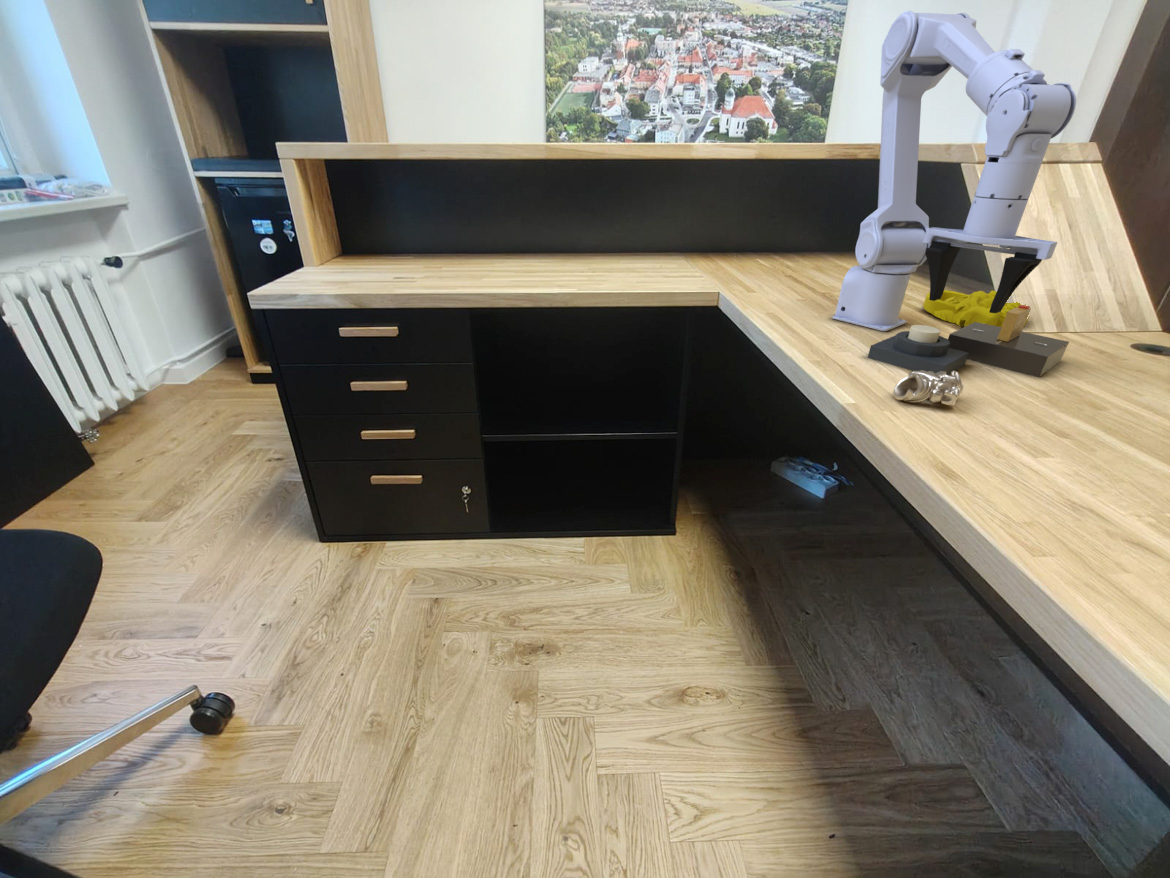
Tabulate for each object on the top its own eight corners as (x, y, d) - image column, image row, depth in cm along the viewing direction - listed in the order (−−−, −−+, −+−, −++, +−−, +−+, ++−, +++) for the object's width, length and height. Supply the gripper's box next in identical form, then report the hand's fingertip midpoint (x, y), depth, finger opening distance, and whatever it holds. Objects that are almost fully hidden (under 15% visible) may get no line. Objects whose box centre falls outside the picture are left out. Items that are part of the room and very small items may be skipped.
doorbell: (867, 358, 80) (873, 334, 78) (892, 346, 85) (899, 324, 83) (941, 379, 73) (949, 353, 72) (964, 365, 78) (973, 341, 76)
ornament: (921, 417, 63) (931, 387, 61) (880, 392, 69) (888, 365, 67) (979, 410, 65) (990, 381, 63) (934, 387, 71) (943, 360, 69)
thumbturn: (1007, 341, 78) (1019, 312, 76) (996, 339, 79) (1008, 309, 77) (1020, 335, 80) (1032, 306, 78) (1009, 332, 81) (1020, 304, 79)
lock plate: (942, 353, 82) (949, 332, 81) (968, 340, 88) (975, 320, 86) (1038, 377, 74) (1048, 355, 73) (1060, 361, 80) (1069, 340, 78)
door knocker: (908, 304, 107) (914, 282, 105) (991, 304, 107) (999, 282, 105) (957, 330, 93) (965, 305, 91) (1053, 331, 92) (1064, 306, 90)
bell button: (902, 340, 78) (906, 328, 77) (914, 335, 80) (917, 323, 79) (929, 346, 75) (934, 334, 74) (940, 341, 77) (944, 329, 76)
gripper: (1082, 201, 66) (1036, 313, 73) (953, 191, 76) (923, 290, 83) (1061, 204, 63) (1015, 321, 69) (929, 194, 73) (900, 297, 79)
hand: (963, 305), depth 76 cm, fingers open, 7 cm apart
